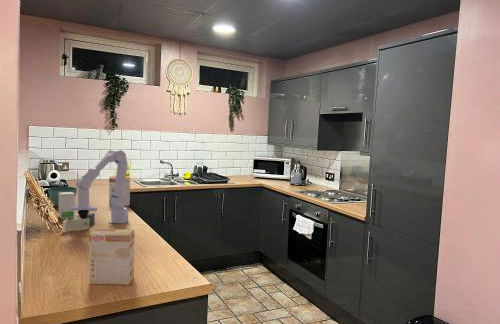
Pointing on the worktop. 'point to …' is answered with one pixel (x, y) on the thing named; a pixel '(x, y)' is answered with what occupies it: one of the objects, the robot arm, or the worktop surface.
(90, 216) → the grey block
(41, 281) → the worktop surface
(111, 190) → the cracker box
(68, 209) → the skincare box
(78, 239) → the worktop surface
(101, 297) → the worktop surface
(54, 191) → the plant pot
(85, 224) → the door
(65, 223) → the wall frame
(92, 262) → the coffeecake box
